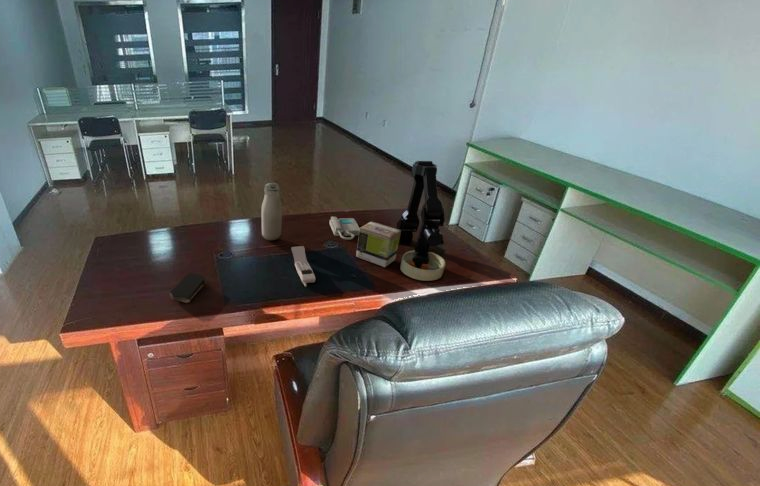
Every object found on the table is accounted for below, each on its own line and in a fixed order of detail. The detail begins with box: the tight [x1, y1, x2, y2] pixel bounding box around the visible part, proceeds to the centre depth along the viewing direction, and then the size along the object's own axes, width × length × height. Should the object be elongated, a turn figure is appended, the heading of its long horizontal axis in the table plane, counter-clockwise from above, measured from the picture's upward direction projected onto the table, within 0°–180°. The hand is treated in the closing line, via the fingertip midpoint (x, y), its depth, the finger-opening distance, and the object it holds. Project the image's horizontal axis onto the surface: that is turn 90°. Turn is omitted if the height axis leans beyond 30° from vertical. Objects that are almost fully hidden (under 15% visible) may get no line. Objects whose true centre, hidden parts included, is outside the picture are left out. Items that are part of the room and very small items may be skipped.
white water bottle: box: [260, 182, 283, 241], centre depth 188 cm, size 10×10×28 cm
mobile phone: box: [291, 245, 317, 288], centre depth 169 cm, size 6×6×25 cm
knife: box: [409, 261, 436, 270], centre depth 169 cm, size 11×3×3 cm, turn 67°
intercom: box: [329, 216, 361, 241], centre depth 200 cm, size 13×4×25 cm
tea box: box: [355, 221, 401, 268], centre depth 175 cm, size 15×10×15 cm, turn 47°
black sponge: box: [169, 272, 206, 304], centre depth 158 cm, size 16×8×4 cm, turn 160°
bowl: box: [399, 250, 446, 282], centre depth 168 cm, size 17×17×6 cm
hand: (417, 267), depth 170 cm, fingers open, 4 cm apart
